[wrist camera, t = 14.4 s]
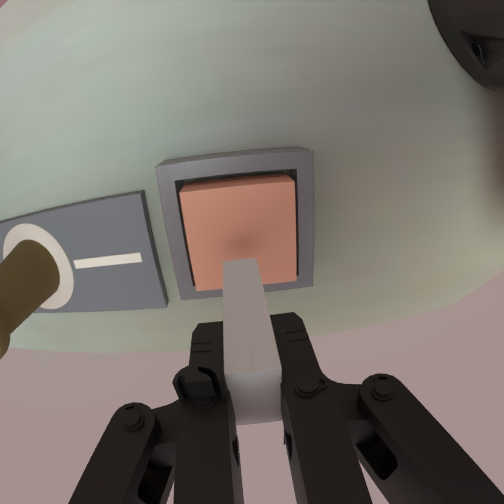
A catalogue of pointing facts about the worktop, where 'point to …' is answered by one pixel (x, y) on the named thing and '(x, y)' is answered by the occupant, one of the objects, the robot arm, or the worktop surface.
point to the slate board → (95, 253)
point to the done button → (241, 226)
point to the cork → (24, 285)
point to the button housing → (231, 163)
